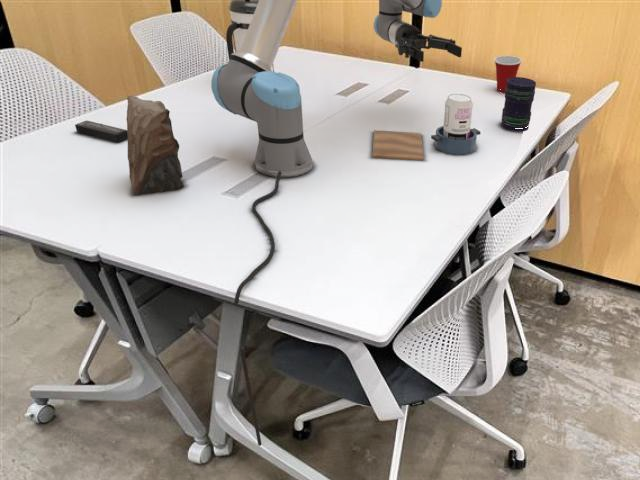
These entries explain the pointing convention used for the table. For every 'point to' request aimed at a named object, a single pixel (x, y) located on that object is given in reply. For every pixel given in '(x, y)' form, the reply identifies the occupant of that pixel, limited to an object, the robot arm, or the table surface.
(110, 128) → the multiport hub
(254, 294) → the table surface
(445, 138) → the pot
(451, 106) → the supplement can
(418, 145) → the wooden board
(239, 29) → the coffee press
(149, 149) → the brown rock
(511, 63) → the plastic cup
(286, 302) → the table surface
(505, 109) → the storage jar
